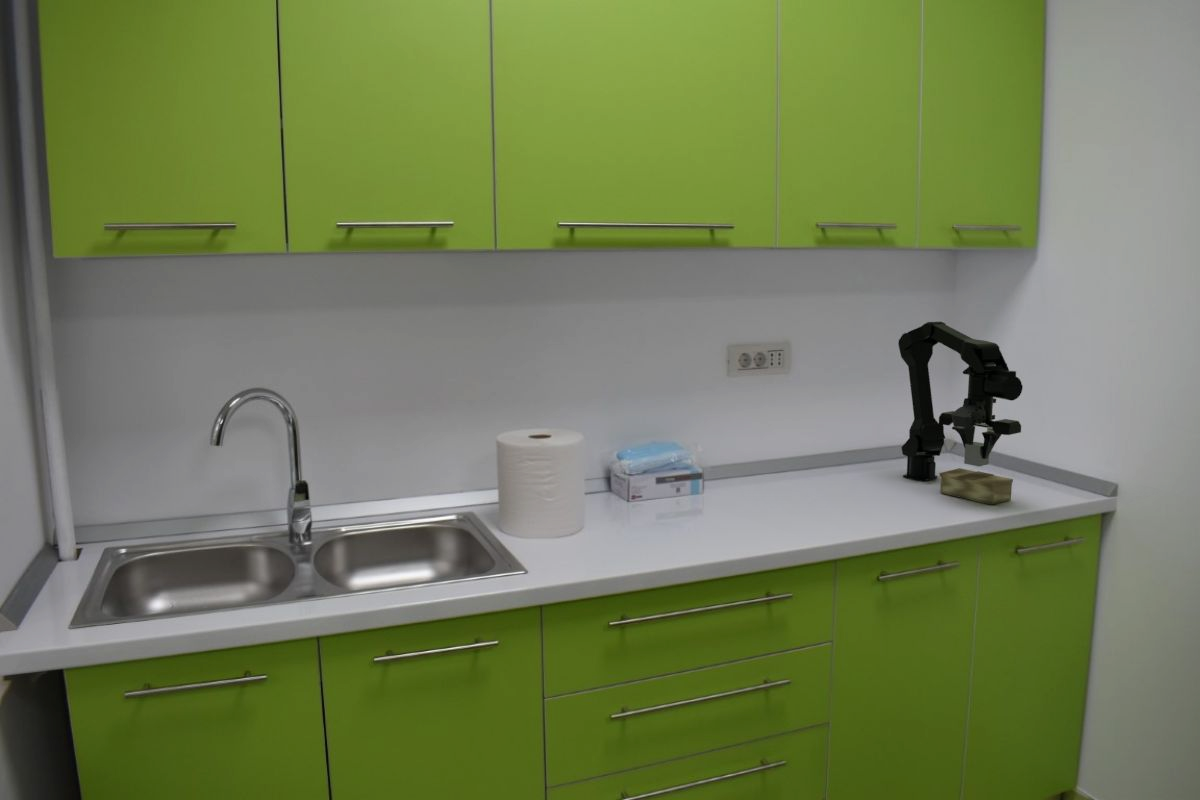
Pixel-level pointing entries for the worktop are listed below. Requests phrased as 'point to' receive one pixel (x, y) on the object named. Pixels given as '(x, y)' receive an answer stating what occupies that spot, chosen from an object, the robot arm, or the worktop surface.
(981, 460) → the block
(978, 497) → the box
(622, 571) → the worktop surface
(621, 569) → the worktop surface
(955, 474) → the lid
